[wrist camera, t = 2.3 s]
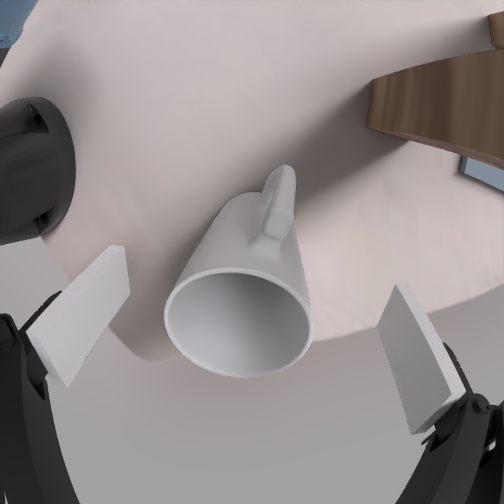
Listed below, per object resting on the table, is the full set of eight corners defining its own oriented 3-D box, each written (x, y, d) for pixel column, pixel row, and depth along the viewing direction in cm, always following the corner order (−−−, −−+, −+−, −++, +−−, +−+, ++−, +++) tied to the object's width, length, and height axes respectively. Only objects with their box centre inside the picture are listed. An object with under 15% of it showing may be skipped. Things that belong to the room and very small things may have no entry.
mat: (459, 170, 18) (464, 173, 17) (472, 71, 13) (477, 71, 13) (515, 197, 18) (519, 200, 17) (528, 114, 13) (533, 115, 13)
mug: (277, 274, 24) (276, 390, 14) (204, 249, 24) (156, 354, 13) (326, 168, 20) (384, 229, 9) (242, 136, 19) (201, 157, 8)
